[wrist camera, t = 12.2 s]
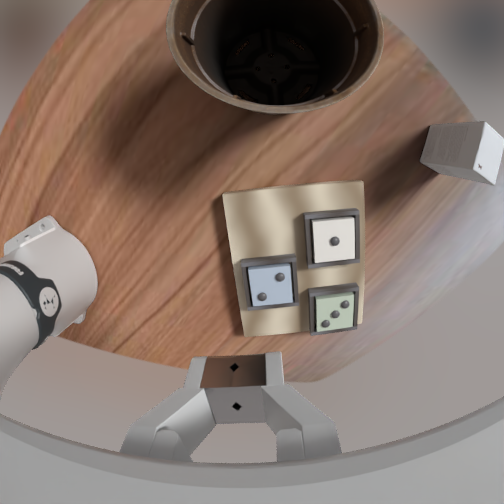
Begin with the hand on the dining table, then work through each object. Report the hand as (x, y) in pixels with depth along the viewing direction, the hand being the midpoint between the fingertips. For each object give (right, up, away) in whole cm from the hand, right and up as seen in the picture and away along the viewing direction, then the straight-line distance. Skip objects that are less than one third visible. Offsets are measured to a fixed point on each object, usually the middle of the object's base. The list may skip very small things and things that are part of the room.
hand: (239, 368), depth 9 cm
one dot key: (+10, +6, +26) cm, 28 cm away
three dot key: (+11, -3, +29) cm, 31 cm away
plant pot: (+3, +26, +21) cm, 34 cm away
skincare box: (+26, +18, +23) cm, 39 cm away
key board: (+7, +3, +29) cm, 30 cm away
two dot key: (+3, 0, +28) cm, 28 cm away
